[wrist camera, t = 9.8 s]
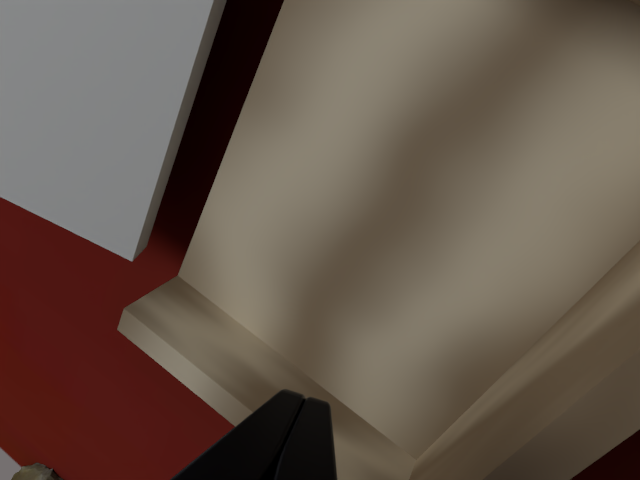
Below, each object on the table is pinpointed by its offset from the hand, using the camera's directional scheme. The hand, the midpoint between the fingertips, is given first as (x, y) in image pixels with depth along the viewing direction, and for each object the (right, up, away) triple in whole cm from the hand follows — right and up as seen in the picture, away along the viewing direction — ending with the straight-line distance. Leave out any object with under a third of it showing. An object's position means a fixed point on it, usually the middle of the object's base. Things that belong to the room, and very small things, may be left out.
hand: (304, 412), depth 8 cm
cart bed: (+4, +4, +9) cm, 11 cm away
